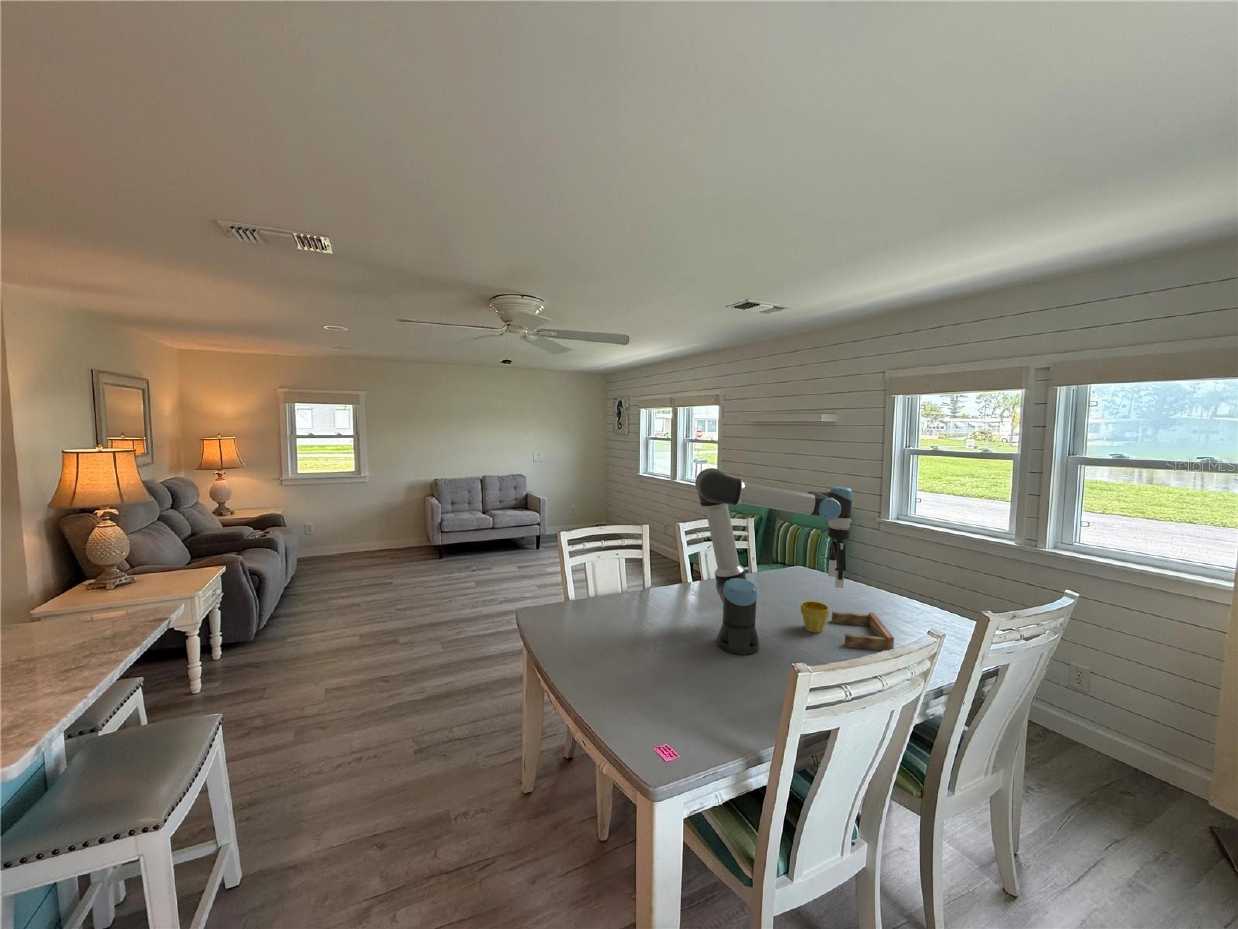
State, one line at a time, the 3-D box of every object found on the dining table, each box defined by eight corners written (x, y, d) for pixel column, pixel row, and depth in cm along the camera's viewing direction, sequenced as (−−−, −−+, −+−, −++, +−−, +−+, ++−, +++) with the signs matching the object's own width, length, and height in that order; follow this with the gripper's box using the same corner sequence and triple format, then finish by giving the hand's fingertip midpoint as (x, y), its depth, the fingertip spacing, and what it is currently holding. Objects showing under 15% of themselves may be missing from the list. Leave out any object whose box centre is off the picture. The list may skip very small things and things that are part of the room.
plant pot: (809, 636, 190) (810, 611, 189) (794, 625, 200) (795, 601, 199) (833, 634, 192) (834, 609, 191) (817, 623, 202) (818, 600, 201)
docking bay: (845, 646, 181) (846, 633, 181) (831, 620, 205) (832, 609, 204) (893, 651, 178) (894, 638, 178) (873, 624, 201) (874, 612, 201)
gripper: (857, 535, 175) (853, 593, 177) (842, 521, 199) (839, 573, 201) (835, 533, 176) (831, 591, 178) (822, 520, 201) (819, 571, 203)
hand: (835, 581), depth 190 cm, fingers open, 13 cm apart
